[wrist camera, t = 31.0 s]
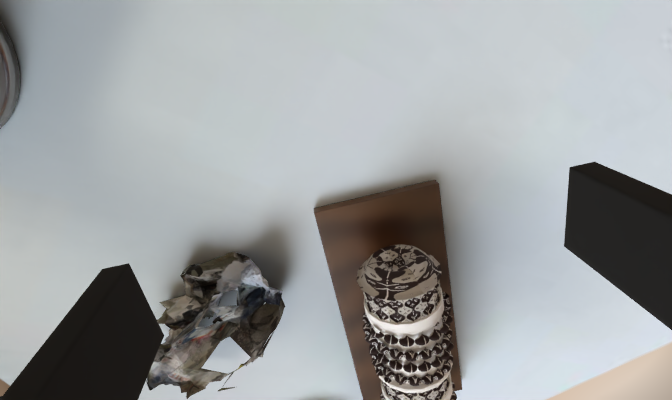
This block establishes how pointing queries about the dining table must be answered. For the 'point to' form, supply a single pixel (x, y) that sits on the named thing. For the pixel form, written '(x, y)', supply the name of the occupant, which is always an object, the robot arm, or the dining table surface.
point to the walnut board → (368, 237)
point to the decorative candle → (407, 324)
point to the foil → (235, 321)
